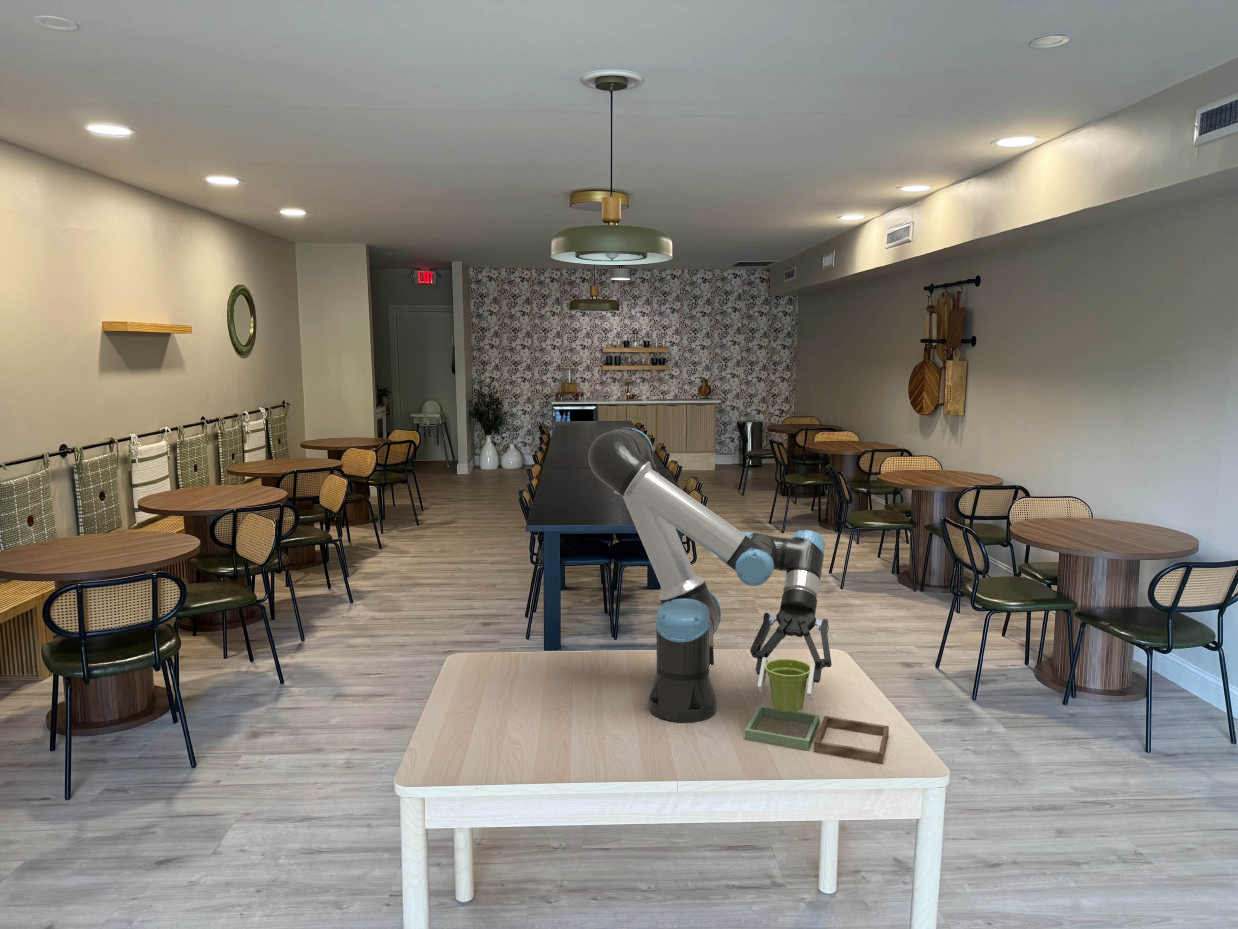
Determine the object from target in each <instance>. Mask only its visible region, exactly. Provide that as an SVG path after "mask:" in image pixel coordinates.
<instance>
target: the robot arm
mask: <svg viewBox="0 0 1238 929" xmlns="http://www.w3.org/2000/svg"><path fill="white" fill-rule="evenodd" d="M587 458H588V459H587V460H588V465H589V467H590V468H589V469H591V471H592V473H593V475H595V477H596V478H597V479H598V480H599V481H601V482H602V483H603V484H605V485H606V486H607V487H608V488H610V489H612V491H613V493H614V494H617V495H619V496H621V497H622V499H623V500H624V503H625V505H626V508H627V510H628V512H629V514H630V517H631V520H632V523H633V524H634V527H635V530H636V531H637V533H638V536H639V538H640V540H641V544H642V545H643V547H644V550H645V552H646V555H647V557H648V559H649V562H650V564H651V567H652V568H653V571H654V573H655V576H656V579H657V581H658V583H659V585H660V587H661V591H660V594H659V596H658V599H659V601H660V603H661V605H660V606H659V607H658V609H657V613H656V618H655V628H656V675H655V678H654V680H653V684H652V687H651V690H650V693H649V695H648V696H649V697H648V710H649V709H650V710H649V712H652V713H651V714H652V715H654V716H655V715H656V718H659V717H660V719H662V718H663V719H662V720H665V719H666V720H665V721H669V720H670V721H669V722H677V723H695V722H699V721H704V720H706V719H709V718H711V717H712V716H714V715H715V714H716V712H717V711H718V710H717V707H718V706H717V704H718V703H717V701H718V700H717V696H716V692H715V689H714V686H713V683H712V680H711V678H710V666H709V645H710V641H711V639H712V637H713V638H714V635H715V633H716V632H717V630H718V629H719V626H720V623H721V619H722V610H721V605H720V602H719V600H718V598H717V597H716V595H715V594H714V593H713V592H712V591H710V590H709V588H708V586H707V583H706V581H705V579H704V578H703V577H701V576H698V575H696V574H695V570H694V569H693V567H692V563H691V562H690V560H689V557H688V555H687V552H686V550H685V547H684V545H683V544H682V543H683V542H682V541H681V538H680V536H679V534H678V532H677V531H679V532H681V533H682V534H683V535H685V536H686V537H688V538H689V539H691V541H693V542H695V543H696V544H697V545H699V546H700V547H702V548H703V549H705V550H706V551H707V552H709V554H712V555H713V556H714V557H716V558H717V559H719V560H720V561H721V562H723V563H724V564H726V565H727V566H728V567H730V568H731V569H733V570H734V571H735V572H736V575H737V577H738V579H739V580H740V581H741V582H743V584H746V585H747V586H752V587H758V586H761V585H763V584H764V583H766V582H767V581H768V580H769V579H770V578H771V577H772V576H773V573H774V570H776V571H781V572H786V573H785V579H784V583H783V589H782V592H783V593H782V595H781V601H780V608H779V611H778V612H777V614H770V613H768V612H764V613H763V622H762V624H761V626H760V628H759V630H758V632H757V635H756V636H755V639H754V640H753V643H752V645H751V647H750V648H749V652H750V655H751V657H752V658H755V659H757V660H756V666H755V672H756V675H758V681H757V689H758V691H759V692H761V693H764V690H765V684H766V678H767V674H768V673H767V671H766V669H765V665H766V663H768V662H769V661H768V658H769V656H770V655H771V653H772V652H774V649H775V648H776V647H778V645H779V644H780V643H781V641H782V640H784V639H785V638H786V637H787V636H788V637H794V636H795V637H798V638H802V637H804V640H805V643H806V645H807V647H808V649H809V652H810V654H811V656H812V659H813V662H814V663H813V662H811V664H810V667H811V668H810V673H809V676H808V682H807V688H806V689H807V691H806V695H807V698H808V700H809V699H810V700H813V697H814V691H815V690H814V689H815V688H814V687H815V684H816V683H817V684H819V683H820V682H821V676H822V671H823V668H831V667H832V664H833V663H832V657H831V650H830V644H829V638H828V633H829V630H830V628H829V627H830V625H829V620H828V619H827V618H823V619H817V618H816V613H817V605H818V597H819V591H820V585H821V584H820V583H821V576H822V572H823V571H822V569H823V564H824V558H825V546H826V544H825V540H824V537H823V536H822V535H821V534H819V533H818V532H816V531H813V530H809V529H804V530H798V531H796V532H794V533H793V535H792V537H791V538H790V537H788V538H787V537H781V536H774V535H771V534H763V533H758V532H757V531H752V532H751V531H741V530H739V529H738V528H736V527H735V526H733V525H732V524H731V523H729V522H728V521H726V520H725V519H723V518H722V517H721V516H719V515H718V514H716V513H715V512H714V511H712V510H711V509H709V508H708V507H707V506H705V505H704V504H702V503H701V502H699V501H698V500H696V499H695V498H694V497H693V496H691V495H690V494H688V493H687V492H685V491H684V490H683V489H681V488H680V487H678V486H676V485H675V484H674V483H673V482H671V481H669V480H668V479H666V478H665V477H664V476H662V475H661V474H660V472H659V470H658V468H657V465H656V464H655V461H654V447H653V444H652V442H651V440H650V438H649V437H648V436H647V435H646V434H645V433H644V432H643V431H641V430H639V429H636V428H632V427H620V428H615V429H614V430H611V431H607V432H604V433H602V434H600V435H599V436H598V437H596V438H595V439H594V440H593V442H592V443H591V445H590V448H589V449H588V456H587ZM775 622H777V623H778V626H777V627H776V630H775V631H774V633H773V634H772V635H771V636H770V638H769V639H768V640H767V641H766V643H765V640H766V639H767V637H768V634H769V633H770V630H771V626H773V625H774V624H775ZM815 626H817V629H818V631H820V636H821V644H822V651H823V658H821V657H820V655H819V652H818V650H817V647H816V645H815V643H814V640H813V637H812V635H811V633H810V632H811V630H812V629H813V628H815ZM764 643H765V644H764Z"/></svg>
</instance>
